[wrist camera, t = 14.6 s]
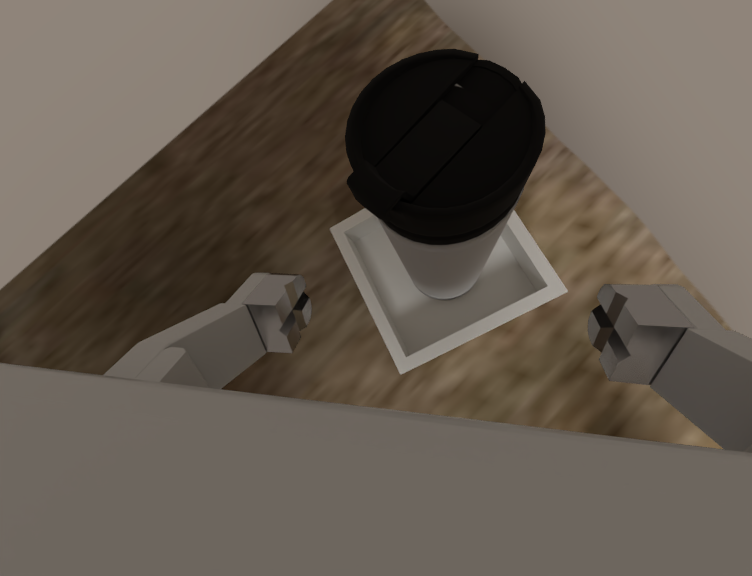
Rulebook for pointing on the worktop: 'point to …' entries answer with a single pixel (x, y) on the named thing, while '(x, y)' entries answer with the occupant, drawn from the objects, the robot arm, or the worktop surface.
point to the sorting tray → (443, 317)
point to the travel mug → (443, 161)
